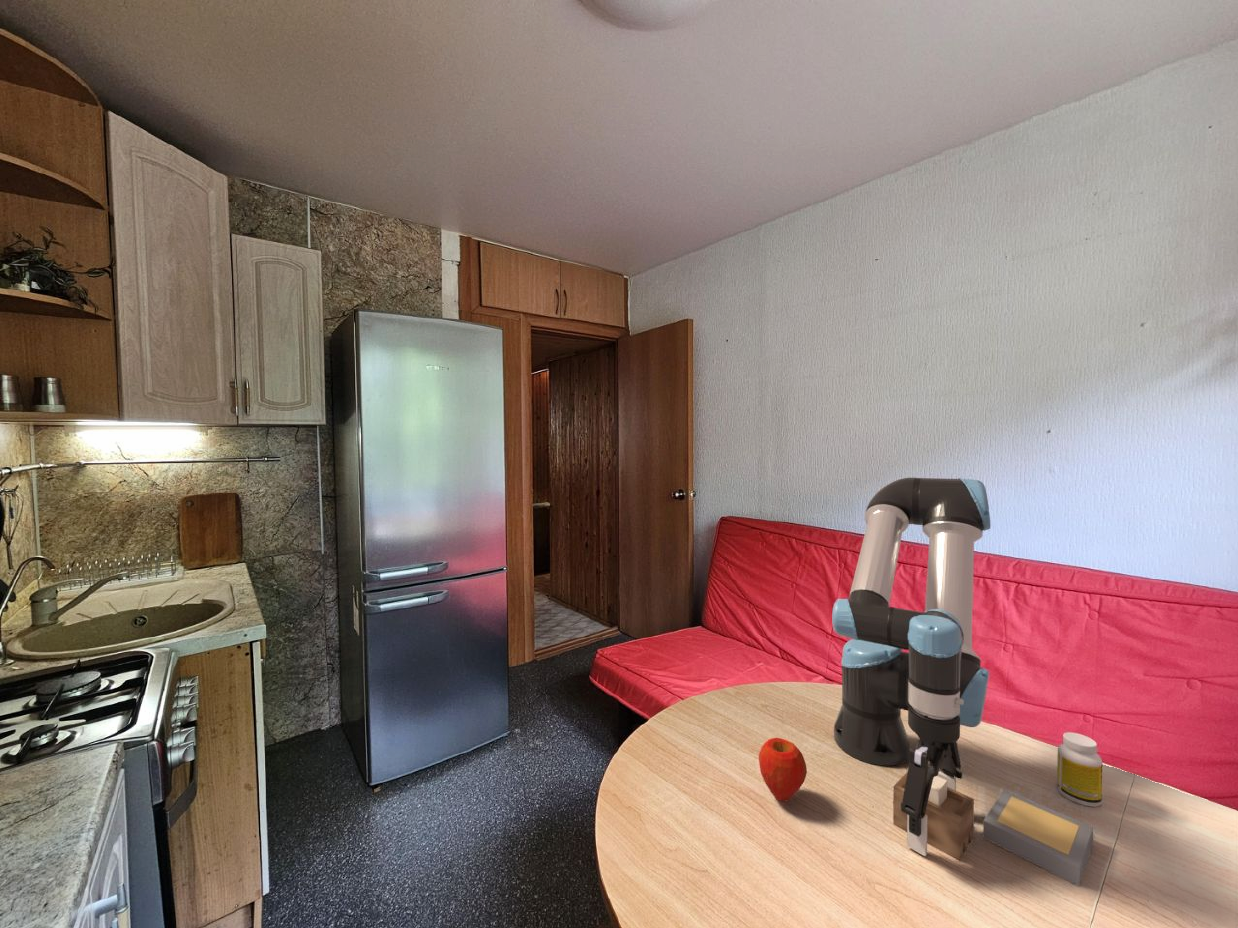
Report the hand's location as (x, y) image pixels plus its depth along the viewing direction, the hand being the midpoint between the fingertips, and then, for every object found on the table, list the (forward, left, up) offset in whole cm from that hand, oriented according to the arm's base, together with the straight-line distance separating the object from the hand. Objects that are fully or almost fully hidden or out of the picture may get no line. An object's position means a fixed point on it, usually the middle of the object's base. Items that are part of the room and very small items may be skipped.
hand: (932, 829), depth 85 cm
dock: (+12, +11, 0) cm, 16 cm away
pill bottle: (+14, +31, -1) cm, 34 cm away
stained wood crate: (0, 0, 0) cm, 0 cm away
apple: (-21, -13, -1) cm, 25 cm away
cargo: (-1, 0, +6) cm, 6 cm away
